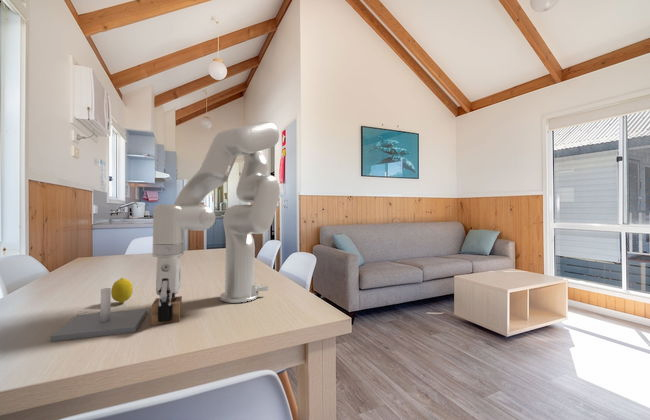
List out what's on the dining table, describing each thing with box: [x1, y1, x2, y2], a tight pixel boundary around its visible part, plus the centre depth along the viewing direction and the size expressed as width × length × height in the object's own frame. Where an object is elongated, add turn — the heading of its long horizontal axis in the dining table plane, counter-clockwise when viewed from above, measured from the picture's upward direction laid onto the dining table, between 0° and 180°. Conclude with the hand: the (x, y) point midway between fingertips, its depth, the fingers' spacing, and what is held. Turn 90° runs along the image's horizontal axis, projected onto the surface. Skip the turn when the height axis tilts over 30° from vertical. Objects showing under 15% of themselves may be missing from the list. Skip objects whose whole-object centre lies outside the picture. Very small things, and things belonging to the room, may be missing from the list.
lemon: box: [111, 277, 134, 304], centre depth 91 cm, size 6×6×8 cm
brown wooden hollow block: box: [150, 295, 183, 326], centre depth 79 cm, size 6×6×5 cm
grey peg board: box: [50, 287, 148, 342], centre depth 74 cm, size 16×14×9 cm
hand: (167, 315), depth 79 cm, fingers closed on brown wooden hollow block, 6 cm apart
